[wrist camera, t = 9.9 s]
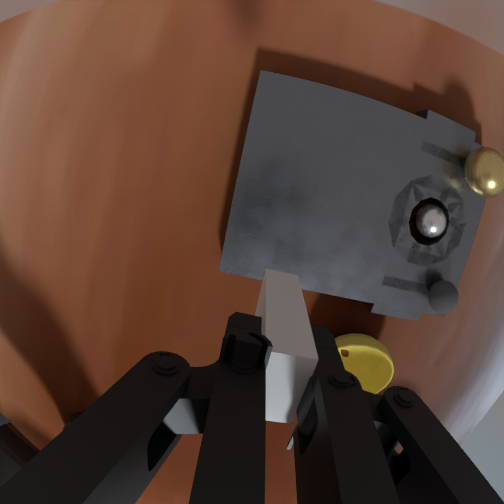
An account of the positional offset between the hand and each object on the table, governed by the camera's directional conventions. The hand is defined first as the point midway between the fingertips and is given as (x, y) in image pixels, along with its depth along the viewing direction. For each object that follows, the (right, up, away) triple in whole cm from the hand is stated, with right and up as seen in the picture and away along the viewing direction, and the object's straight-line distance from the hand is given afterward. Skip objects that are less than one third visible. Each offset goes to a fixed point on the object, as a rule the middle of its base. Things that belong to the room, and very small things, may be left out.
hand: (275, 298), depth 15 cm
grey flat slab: (+10, +7, +14) cm, 18 cm away
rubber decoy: (+17, -2, +12) cm, 21 cm away
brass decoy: (+20, +9, +7) cm, 23 cm away
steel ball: (+16, +5, +12) cm, 21 cm away
